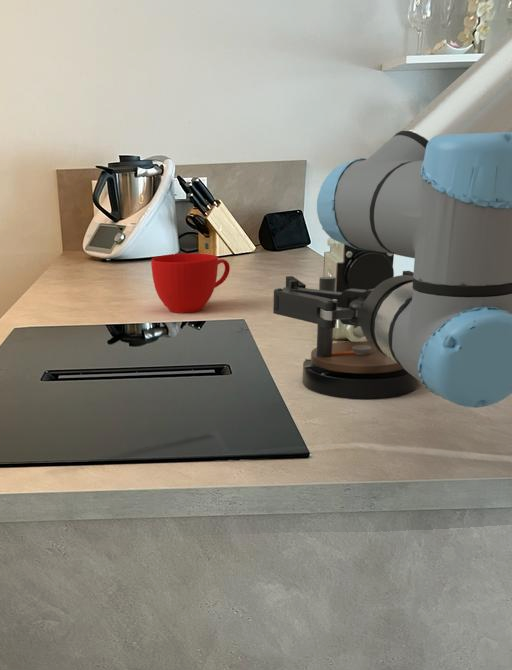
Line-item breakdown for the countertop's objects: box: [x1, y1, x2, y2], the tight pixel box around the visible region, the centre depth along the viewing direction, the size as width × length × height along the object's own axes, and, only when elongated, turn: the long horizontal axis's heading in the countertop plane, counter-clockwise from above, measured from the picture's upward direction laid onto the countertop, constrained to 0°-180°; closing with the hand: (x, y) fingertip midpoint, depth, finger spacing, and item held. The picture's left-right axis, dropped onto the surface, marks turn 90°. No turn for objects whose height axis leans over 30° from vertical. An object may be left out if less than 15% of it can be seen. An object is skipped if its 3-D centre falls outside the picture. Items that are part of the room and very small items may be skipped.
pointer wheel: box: [310, 276, 403, 374], centre depth 101 cm, size 13×13×11 cm
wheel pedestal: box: [302, 356, 420, 400], centre depth 104 cm, size 15×15×3 cm
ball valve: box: [322, 237, 395, 342], centre depth 124 cm, size 18×8×18 cm, turn 177°
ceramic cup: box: [150, 253, 231, 314], centre depth 155 cm, size 13×17×10 cm
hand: (346, 285), depth 91 cm, fingers open, 13 cm apart
